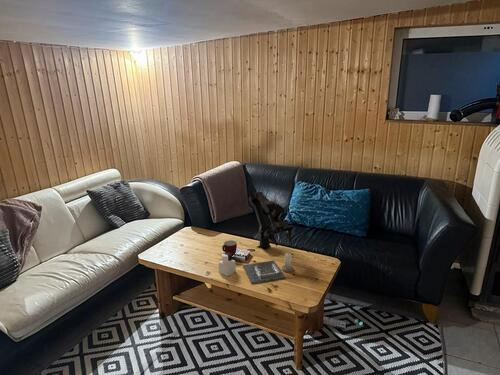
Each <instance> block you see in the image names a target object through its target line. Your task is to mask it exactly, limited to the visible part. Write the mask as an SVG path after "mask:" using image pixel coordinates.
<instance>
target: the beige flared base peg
mask: <svg viewBox="0 0 500 375" xmlns="http://www.w3.org/2000/svg"><path fill="white" fill-rule="evenodd" d="M292 256H293V254H292V253H291V252H285V253H284V265H283V266H282V267H281V271H282V272H283V273H290V274H291V273H293V272H294V271H295V268H294V266H293V265H292Z"/></svg>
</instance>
